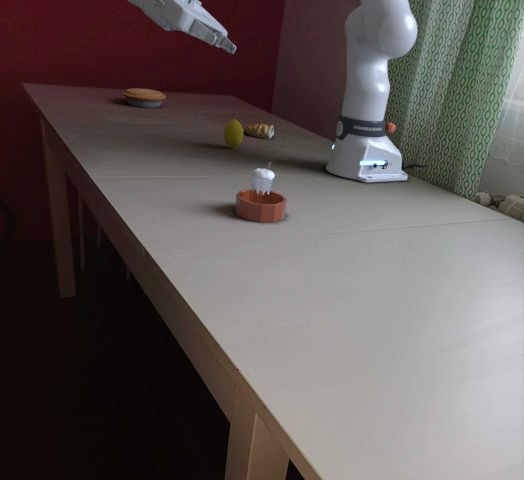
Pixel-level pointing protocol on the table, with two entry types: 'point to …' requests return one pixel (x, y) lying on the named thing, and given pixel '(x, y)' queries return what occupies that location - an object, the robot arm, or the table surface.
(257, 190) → the milkshake
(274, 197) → the orange round shallow bowl
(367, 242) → the table surface
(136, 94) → the pie
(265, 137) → the pastry
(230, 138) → the lemon
